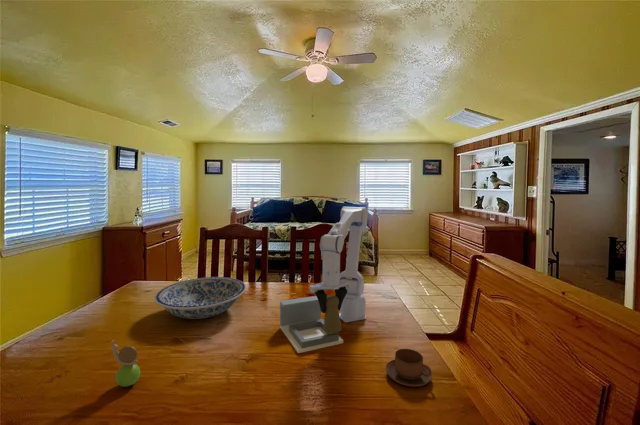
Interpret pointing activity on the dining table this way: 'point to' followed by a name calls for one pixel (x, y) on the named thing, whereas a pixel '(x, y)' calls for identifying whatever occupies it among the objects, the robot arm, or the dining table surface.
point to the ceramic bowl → (200, 296)
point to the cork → (332, 315)
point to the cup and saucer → (409, 368)
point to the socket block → (305, 325)
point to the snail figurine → (126, 365)
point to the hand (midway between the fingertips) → (330, 310)
